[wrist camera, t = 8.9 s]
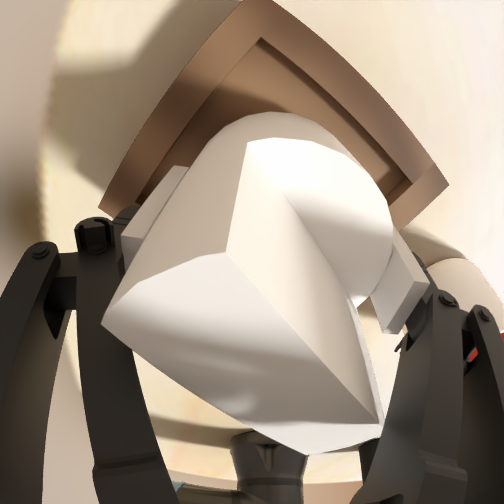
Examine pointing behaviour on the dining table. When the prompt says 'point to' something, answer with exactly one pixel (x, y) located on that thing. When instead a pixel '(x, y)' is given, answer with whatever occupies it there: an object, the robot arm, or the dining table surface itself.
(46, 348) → the robot arm
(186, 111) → the walnut base
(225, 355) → the cylinder with rectangular tab
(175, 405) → the dining table surface
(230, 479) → the dining table surface
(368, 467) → the mug
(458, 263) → the cup
